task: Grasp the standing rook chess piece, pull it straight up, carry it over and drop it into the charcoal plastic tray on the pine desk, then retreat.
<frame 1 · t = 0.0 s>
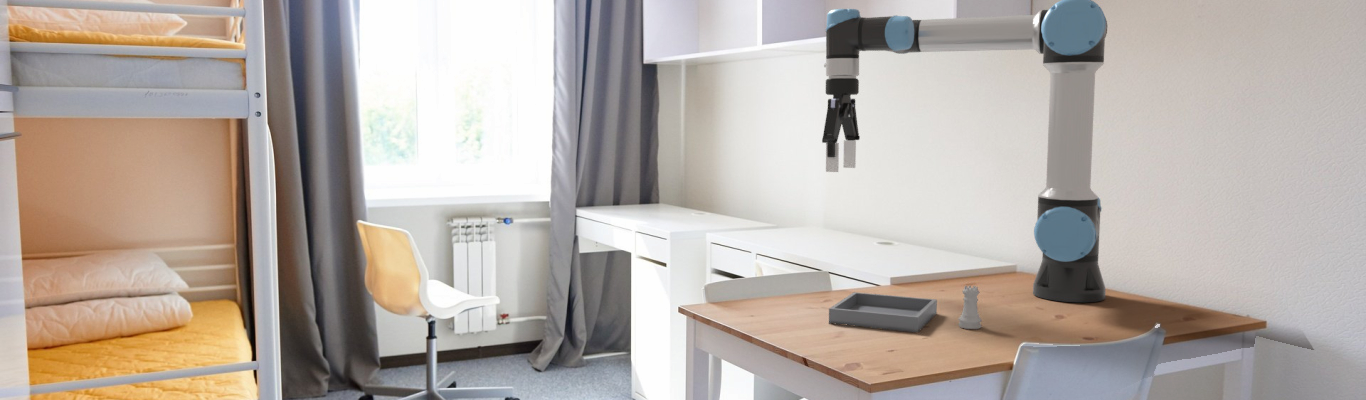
hand: (841, 169, 219), 28 cm above the table, fingers open, 13 cm apart
rook chess piece: (969, 328, 184), on the table
tray: (883, 318, 192), on the table
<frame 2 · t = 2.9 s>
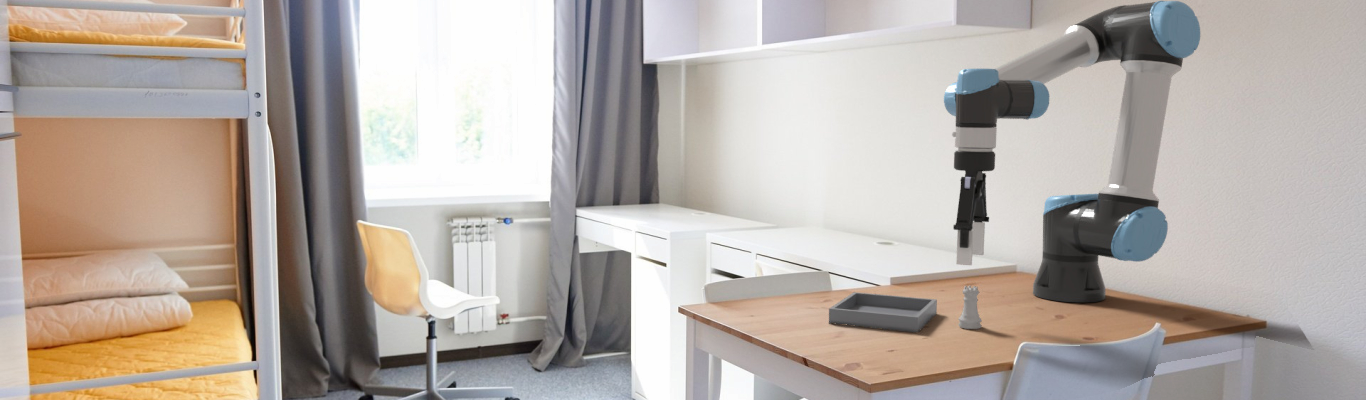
hand: (970, 259, 182), 13 cm above the table, fingers open, 13 cm apart
nothing on the table moved.
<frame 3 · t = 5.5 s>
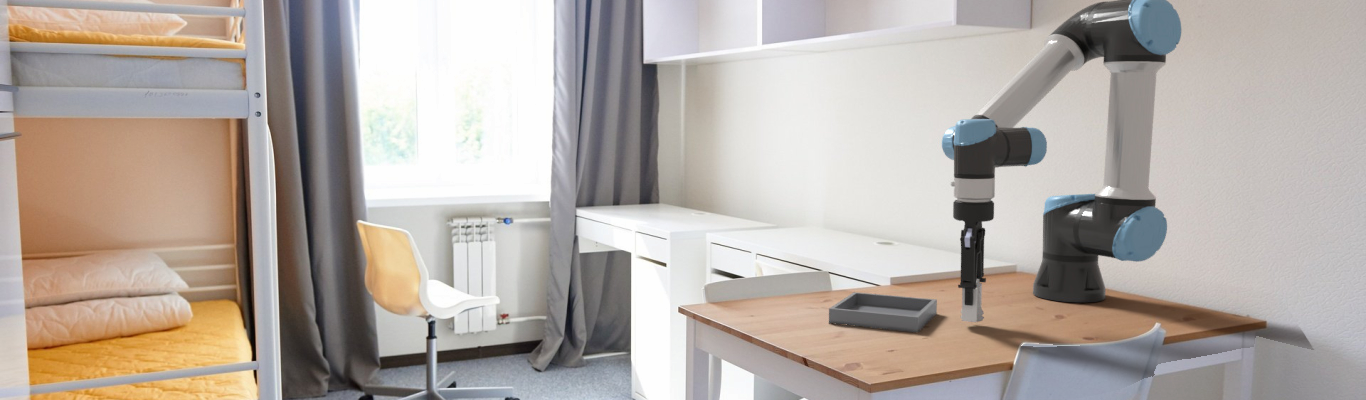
hand: (971, 317, 184), 2 cm above the table, fingers closed on rook chess piece, 4 cm apart
rook chess piece: (972, 320, 184), point 1 cm above the table, touching gripper
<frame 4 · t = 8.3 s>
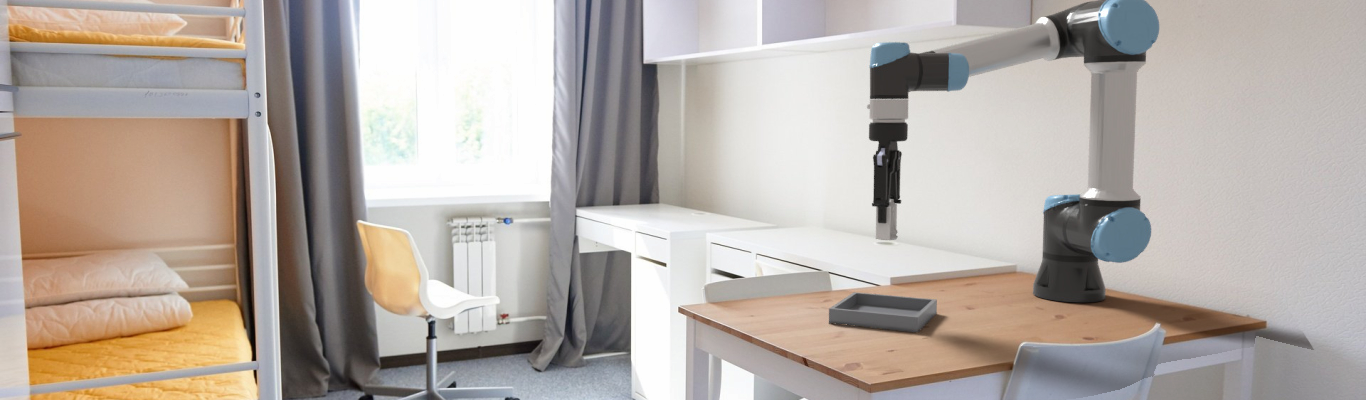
hand: (886, 237, 190), 17 cm above the table, fingers closed on rook chess piece, 4 cm apart
rook chess piece: (886, 239, 190), point 16 cm above the table, touching gripper
when the fingers open (3 cm above the table, at t = 11.2 s): rook chess piece drops 2 cm, resting on tray.
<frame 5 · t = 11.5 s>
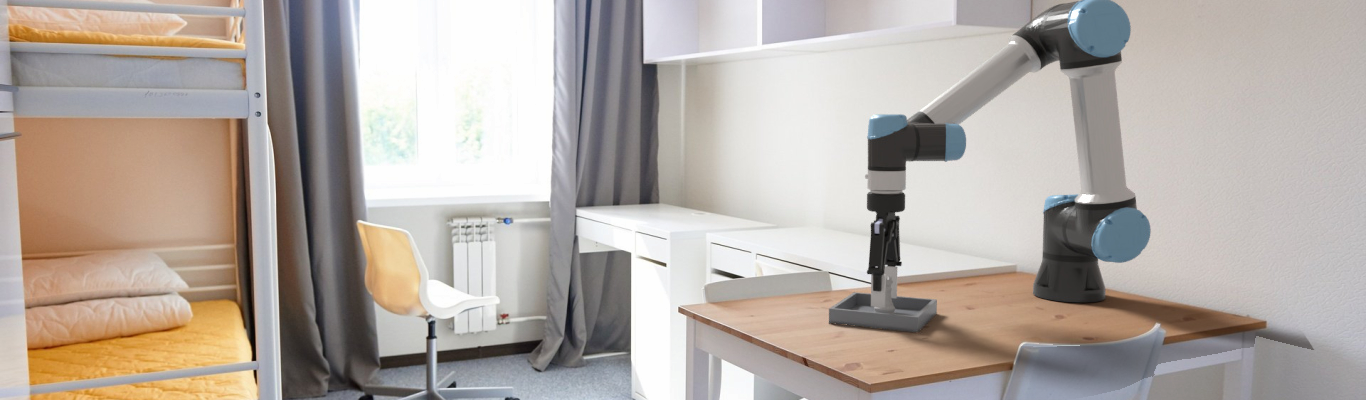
hand: (884, 301, 191), 3 cm above the table, fingers open, 9 cm apart
rook chess piece: (884, 316, 191), resting on tray
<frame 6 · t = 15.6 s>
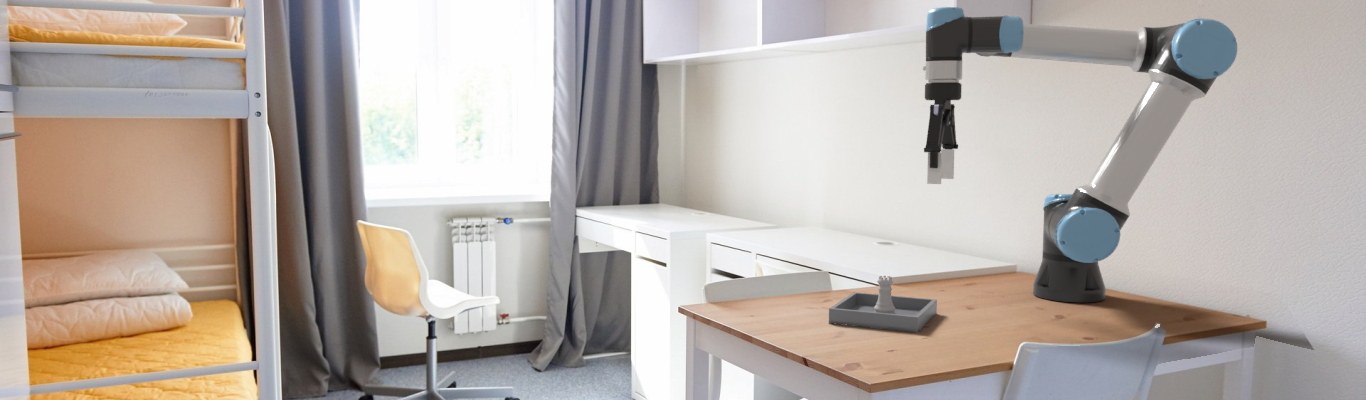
hand: (940, 181, 203), 27 cm above the table, fingers open, 13 cm apart
nothing on the table moved.
at the end: rook chess piece inside the target area on the tray (0.1 cm from its centre), point 0.4 cm above the tray's base; the gripper is holding nothing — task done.
